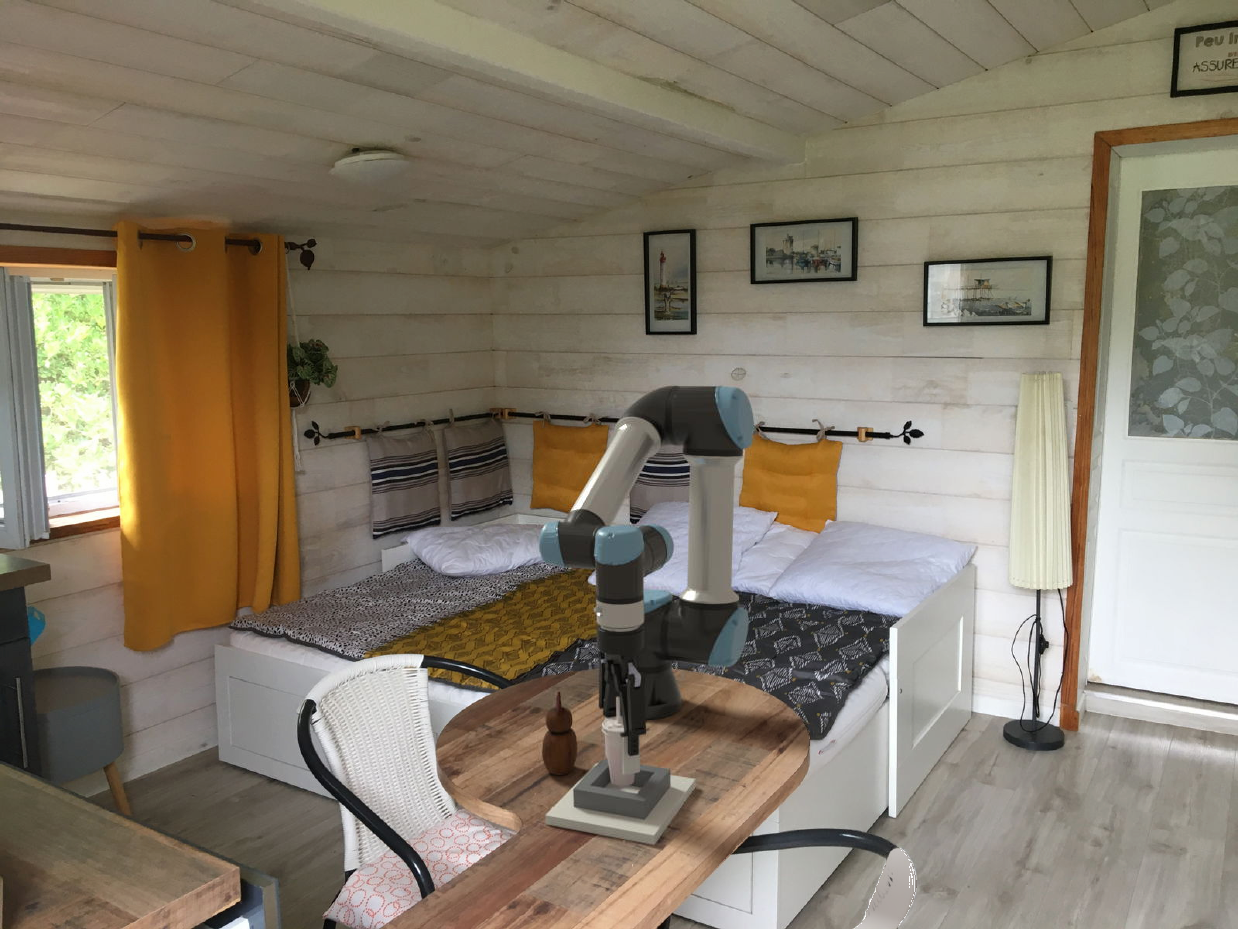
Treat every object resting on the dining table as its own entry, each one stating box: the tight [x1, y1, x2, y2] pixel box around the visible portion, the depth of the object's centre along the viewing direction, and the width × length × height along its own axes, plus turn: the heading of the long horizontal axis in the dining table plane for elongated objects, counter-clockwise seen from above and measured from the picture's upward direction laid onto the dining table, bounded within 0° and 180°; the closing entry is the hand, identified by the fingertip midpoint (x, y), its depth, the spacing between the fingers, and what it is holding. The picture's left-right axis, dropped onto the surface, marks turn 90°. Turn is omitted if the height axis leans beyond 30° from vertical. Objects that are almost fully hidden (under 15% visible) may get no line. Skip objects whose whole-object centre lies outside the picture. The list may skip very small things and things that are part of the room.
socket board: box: [545, 757, 697, 846], centre depth 165 cm, size 20×18×4 cm
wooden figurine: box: [541, 691, 578, 776], centre depth 177 cm, size 7×6×15 cm
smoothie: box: [601, 697, 635, 786], centre depth 163 cm, size 6×6×14 cm
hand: (622, 763), depth 164 cm, fingers closed on smoothie, 6 cm apart
